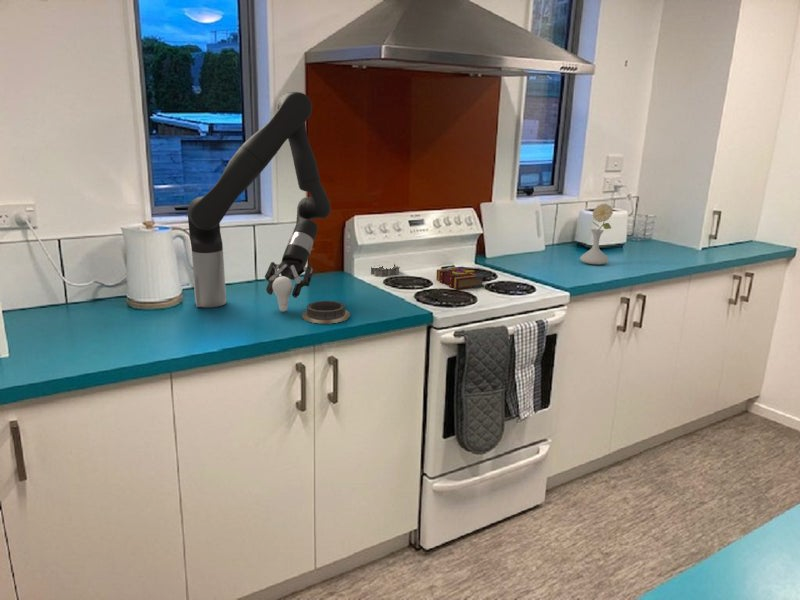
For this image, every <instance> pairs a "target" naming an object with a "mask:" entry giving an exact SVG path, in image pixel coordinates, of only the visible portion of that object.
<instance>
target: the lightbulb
mask: <svg viewBox="0 0 800 600" xmlns="http://www.w3.org/2000/svg"><path fill="white" fill-rule="evenodd" d="M280 276H281V275H280ZM272 288H273V293H274V294H275V296H276V298H277V304H278V309H279V311H281V312H283V313H284V312H286V311H287V310H288V309H289V308H288V306H289V305H288V304H289V300H290V295H292V292H293V290H294V284H293V280H291V279H289V278H287V277H285V276H281V277H278V278H276V279H275V280H274V282H273V285H272Z"/></svg>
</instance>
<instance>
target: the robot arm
mask: <svg viewBox="0 0 800 600" xmlns="http://www.w3.org/2000/svg"><path fill="white" fill-rule="evenodd" d="M312 104H313V103H312V101H311V99H310V97H309V96H308V95H306V94H305V93H303V92H301V91H300V92H299V91H291V92H290V91H288V92H285V93H284V94H282V95H281V96H280V97H279V99H278V101H277V111H276V112H275V114H273V116H272V118H271V119H270V120H269V121H267V123H266V124H265V125H264V126H263V127H261V128H260V129H259V130H257V131H256V132H255V133H254V134H252V135H251V136H250V137H249V138H248V139H247V140H246V141H244V142H243V144H242V145H241V146H240V147H239V148H238V149H237V150H236V152H235V153H234V155H233V156H232V157H231V158H230V160H229V161H228V162H227V165H226V166H225V168H224V170H223V172H222V174H221V176H220V178H218V180H217V182H216V183H215V184H214V186H212V187H211V189H210V190H209V191H207V193H206V194H204V196H198V197H195V198H194V199H192V200H191V201H190V203H189V204H188V207H187V223H188V231H189V233H188V234H189V240H190V245H191V246H190V247H191V257H192V271H193V272H192V273H193V274H192V277H193V289H194V290H193V291H194V301H195V307H196V308H217V307H221V306H223V305H226V304H227V292H226V291H227V290H226V276H225V275H226V274H225V263H224V249H223V248H224V247H223V246H224V245H223V239H222V234H221V225H220V223H221V222H222V220H223V219H224V217H225V216H226V214H227V213H228V211H229V210H230V208H231V207H232V205H234V202H235V201H236V200H237V199H238V198H239V197H240V196H241V195H242V194H243V192H245V191H246V190H247V189H248V188H249V186H250V185H251V184H252V183H253V182H254V181H255V180H256V179H257V177H259V176H260V174H261V173H262V172H263V171H264V169H265V168H266V167H267V166H268V165H269V163H270V162H271V161H272V160H273V158H274V157H275V156H276V154H277V153H278V152H279V150H281V147H282V146H283V145H284V144H285V142H286V141H287V140H288V142H289V147H290V151H291V155H292V161H293V166H294V171H295V175H296V180H297V184H298V188H299V190H301V191H302V192H307V193H309V194H310V196H308V197H306V196H305V197H304V198H301V199H300V201H299V202H298V205H297V208H296V210H297V211H296V213H297V214H296V220H295V221H296V222H295V223H296V224H295V227H294V228H293V232H292V234H291V235H290V238H289V239H288V242H287V245H286V247H285V249H284V252H283V255H282V258H281V259H282V260H281V262H280V263H279V264H277V263H275V262H274V261H271V262H270V263H269V266H268V269H267V271H266V273H265V275H264V279H265V280H266V282H268V284H267V286H266V289H265V290H266V292H267V294H268V295H271V296H272V295H273V293H274V291H273V288H272V285H273V282H274V280H275V279H276V278H278V277H281V276H285V277H287V278H289V279H290V280H291V281H294V280H295V282H296V283H295V285H294V286H293V289H292V292H291V295H292V297H293V298H294V299H295V298H296V299H297V298H298V297H299V296H300V293H301V290H302V288H303V287H310V283H311V280H312V277H313V273H314V270H313V268H312V266H311V265H307V263H308V260H309V258H310V255H311V252H312V250H313V245H314V241H315V239H316V236H317V232H318V225H317V223H316V222H315V221H313V220H316V219H317V220H318V219H320V220H321V219H326V218H328V217H329V215H330V213H331V209H332V207H331V201H330V199H329V198H328V195H327V194H326V191H325V188H324V186H323V185H322V183H321V179H320V173H319V168H318V164H317V161H316V157H315V155H314V152H313V148H312V146H311V144H310V141H309V137H308V134H307V128H306V126H307V125H306V122H307V121H308V119H309V118H310V116H311V115H312V110H313V105H312ZM303 273H304V276H303V279H302V278H301V275H302V274H303Z"/></svg>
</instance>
